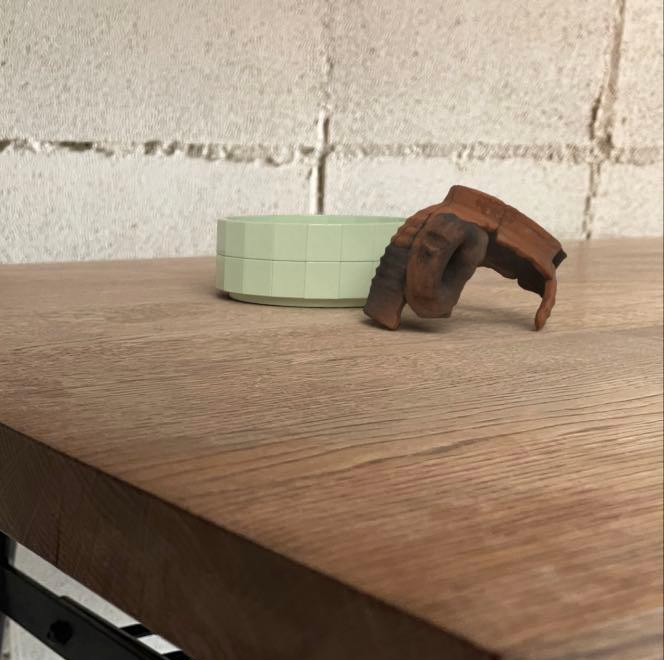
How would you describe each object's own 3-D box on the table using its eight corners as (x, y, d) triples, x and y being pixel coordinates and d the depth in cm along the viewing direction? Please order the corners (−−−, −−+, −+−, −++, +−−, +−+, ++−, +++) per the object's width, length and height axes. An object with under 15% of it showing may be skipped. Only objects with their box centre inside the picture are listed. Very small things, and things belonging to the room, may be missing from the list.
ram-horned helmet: (365, 318, 68) (445, 195, 66) (501, 401, 65) (589, 275, 63) (321, 284, 57) (415, 134, 55) (484, 382, 54) (589, 228, 52)
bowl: (328, 283, 83) (332, 213, 82) (461, 301, 72) (468, 220, 71) (178, 292, 77) (179, 216, 75) (297, 314, 66) (302, 226, 65)
